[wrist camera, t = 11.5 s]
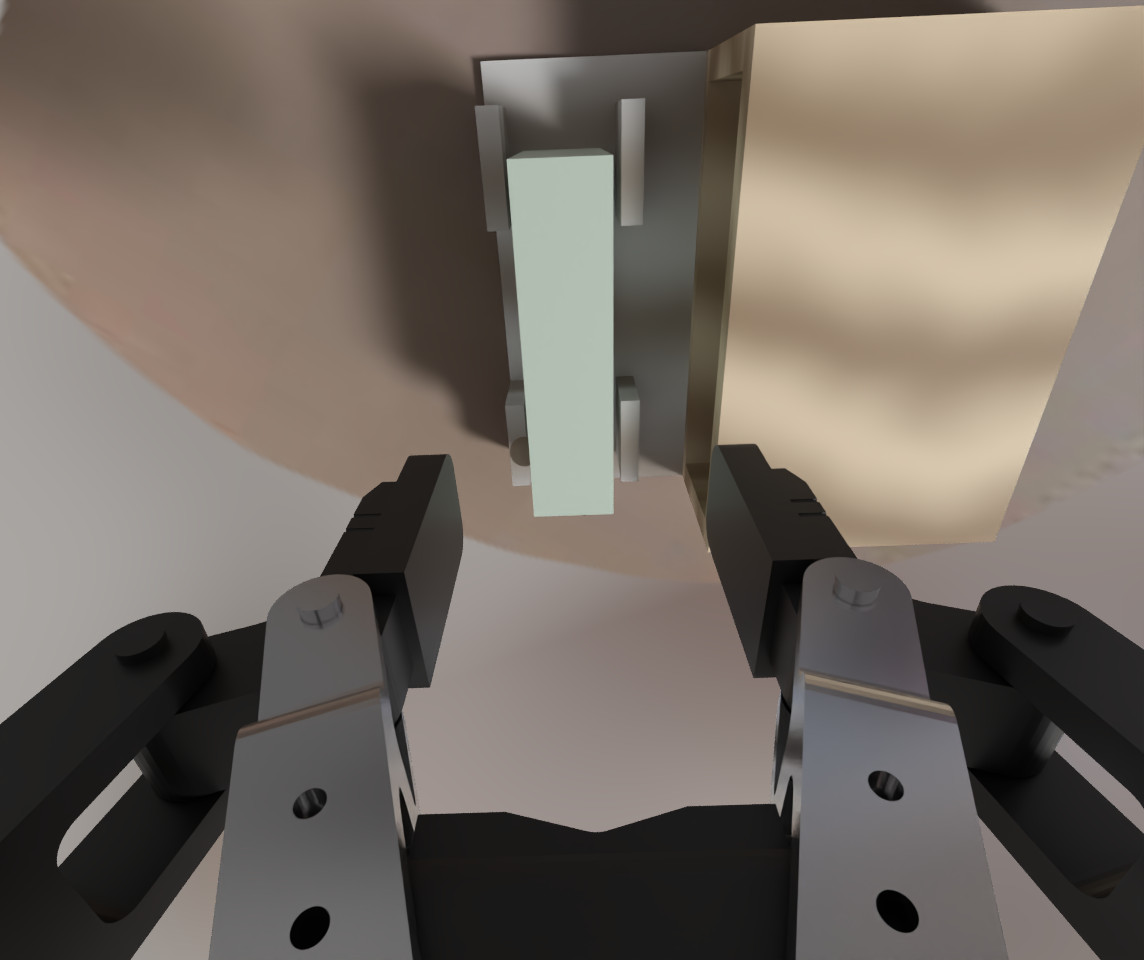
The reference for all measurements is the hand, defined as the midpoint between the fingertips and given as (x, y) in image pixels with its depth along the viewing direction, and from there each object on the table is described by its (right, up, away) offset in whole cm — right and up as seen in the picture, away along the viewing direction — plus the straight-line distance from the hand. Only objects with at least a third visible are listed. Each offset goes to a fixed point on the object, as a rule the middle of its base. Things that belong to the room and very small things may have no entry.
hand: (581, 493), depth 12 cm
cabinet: (+7, +9, +16) cm, 19 cm away
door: (0, +8, +15) cm, 17 cm away
